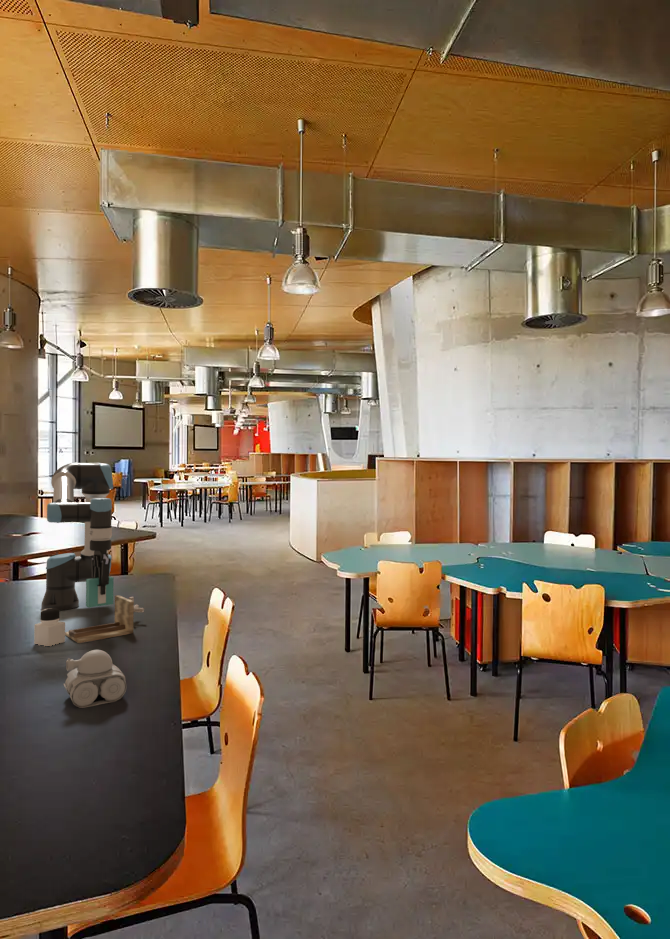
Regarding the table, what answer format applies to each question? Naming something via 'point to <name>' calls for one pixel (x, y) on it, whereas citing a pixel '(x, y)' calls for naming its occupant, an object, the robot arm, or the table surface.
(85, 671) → the toy tank
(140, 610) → the pipe connector
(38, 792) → the table surface
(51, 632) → the medicine bottle
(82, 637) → the wooden slatted rack
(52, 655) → the table surface
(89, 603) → the teal rectangular block
